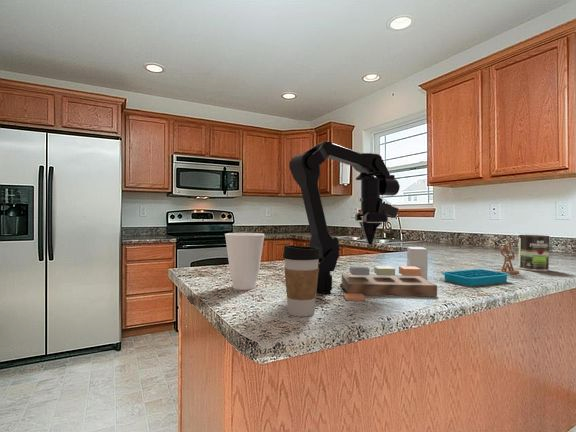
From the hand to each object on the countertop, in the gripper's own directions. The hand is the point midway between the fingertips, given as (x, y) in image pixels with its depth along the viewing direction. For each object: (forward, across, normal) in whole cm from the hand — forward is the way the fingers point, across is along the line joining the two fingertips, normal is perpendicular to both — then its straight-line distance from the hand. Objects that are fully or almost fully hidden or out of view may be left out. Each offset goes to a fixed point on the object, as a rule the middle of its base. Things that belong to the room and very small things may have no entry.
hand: (370, 244), depth 106 cm
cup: (+13, -6, +39) cm, 41 cm away
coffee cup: (+13, -32, +22) cm, 41 cm away
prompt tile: (+13, -18, +8) cm, 23 cm away
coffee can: (+14, +34, -75) cm, 83 cm away
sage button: (+8, -5, -3) cm, 11 cm away
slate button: (+8, -5, +4) cm, 11 cm away
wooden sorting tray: (+13, -7, -3) cm, 15 cm away
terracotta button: (+8, -6, -11) cm, 15 cm away
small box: (+13, +13, -19) cm, 27 cm away
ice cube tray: (+14, +7, -37) cm, 40 cm away
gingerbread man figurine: (+13, +23, -58) cm, 63 cm away
